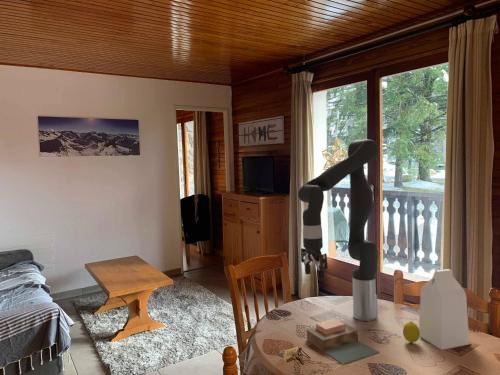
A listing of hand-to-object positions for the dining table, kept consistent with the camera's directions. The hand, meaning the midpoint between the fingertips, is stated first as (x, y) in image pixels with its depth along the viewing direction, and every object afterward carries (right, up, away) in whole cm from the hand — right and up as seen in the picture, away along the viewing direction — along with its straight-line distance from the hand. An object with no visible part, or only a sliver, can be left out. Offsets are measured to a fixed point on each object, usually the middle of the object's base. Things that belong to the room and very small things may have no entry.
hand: (314, 276), depth 150 cm
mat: (+10, -23, -17) cm, 30 cm away
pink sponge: (+5, -18, -7) cm, 20 cm away
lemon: (+33, -22, -12) cm, 41 cm away
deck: (+6, -22, -7) cm, 24 cm away
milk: (+46, -21, -10) cm, 51 cm away
